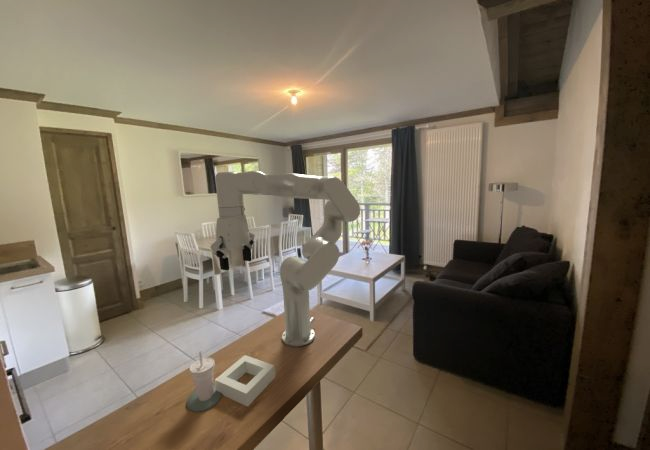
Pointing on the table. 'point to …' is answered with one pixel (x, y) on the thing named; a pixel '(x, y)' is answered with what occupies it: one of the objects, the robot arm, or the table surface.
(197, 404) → the coaster
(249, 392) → the holder
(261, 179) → the robot arm
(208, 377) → the lidded cup with straw
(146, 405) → the table surface
